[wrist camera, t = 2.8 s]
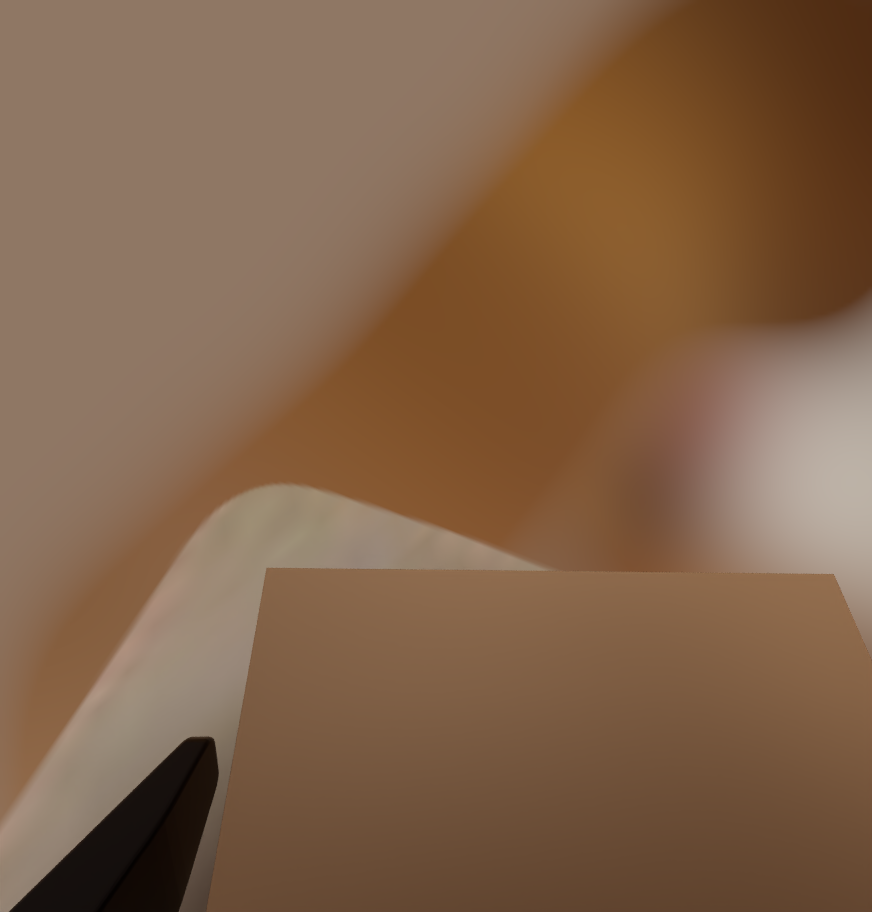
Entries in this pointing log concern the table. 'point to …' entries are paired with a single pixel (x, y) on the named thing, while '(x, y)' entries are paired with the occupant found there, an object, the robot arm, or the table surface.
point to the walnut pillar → (550, 745)
